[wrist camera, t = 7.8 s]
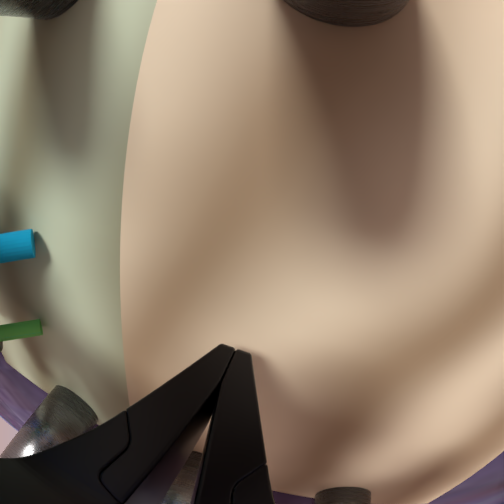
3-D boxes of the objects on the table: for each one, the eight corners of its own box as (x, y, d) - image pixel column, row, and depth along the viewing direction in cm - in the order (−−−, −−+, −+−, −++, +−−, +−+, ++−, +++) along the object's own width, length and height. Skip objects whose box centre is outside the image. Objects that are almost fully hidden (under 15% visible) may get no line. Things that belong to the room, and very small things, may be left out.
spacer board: (661, 146, 2) (666, 149, 1) (427, 498, 13) (427, 503, 12) (-3, -37, 5) (-8, -38, 4) (9, 358, 16) (6, 361, 15)
